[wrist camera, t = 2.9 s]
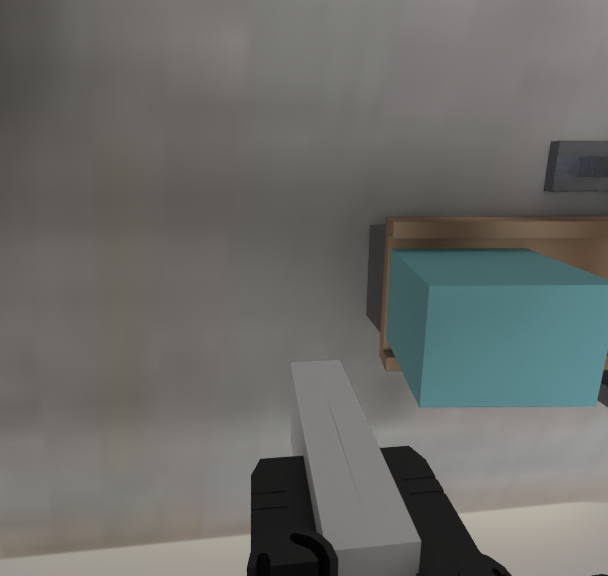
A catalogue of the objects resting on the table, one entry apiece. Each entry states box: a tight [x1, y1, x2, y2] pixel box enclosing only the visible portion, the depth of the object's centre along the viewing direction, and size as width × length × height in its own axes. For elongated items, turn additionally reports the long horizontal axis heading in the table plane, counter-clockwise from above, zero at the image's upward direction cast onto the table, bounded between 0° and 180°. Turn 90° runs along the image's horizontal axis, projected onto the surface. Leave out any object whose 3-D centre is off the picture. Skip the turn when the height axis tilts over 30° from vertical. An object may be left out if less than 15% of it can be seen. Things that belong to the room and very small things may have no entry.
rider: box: [386, 248, 608, 407], centre depth 20 cm, size 7×5×7 cm
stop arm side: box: [367, 225, 386, 333], centre depth 26 cm, size 2×6×4 cm, turn 0°
